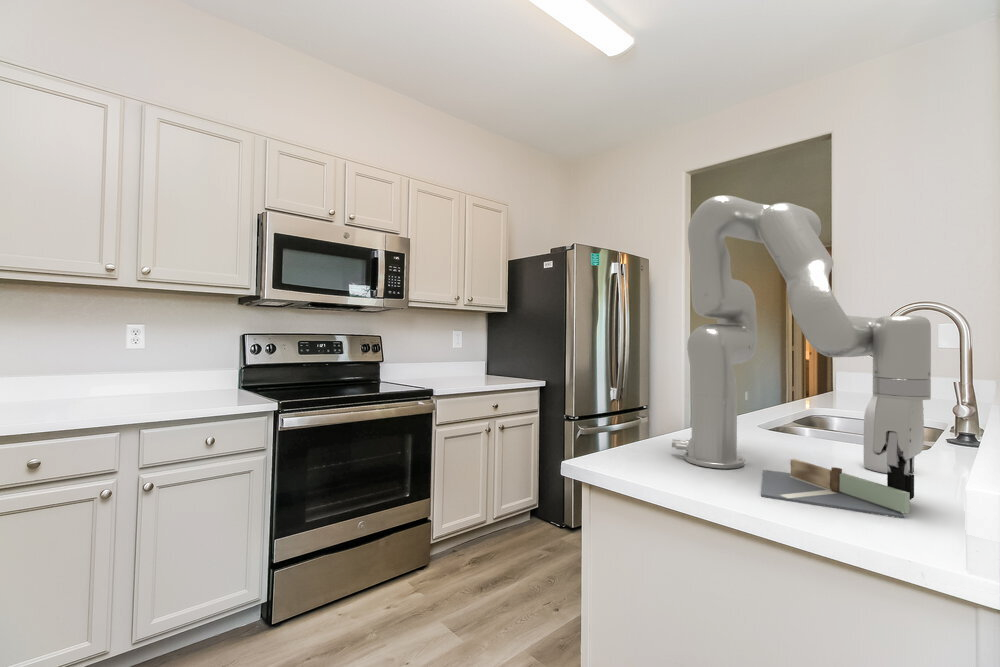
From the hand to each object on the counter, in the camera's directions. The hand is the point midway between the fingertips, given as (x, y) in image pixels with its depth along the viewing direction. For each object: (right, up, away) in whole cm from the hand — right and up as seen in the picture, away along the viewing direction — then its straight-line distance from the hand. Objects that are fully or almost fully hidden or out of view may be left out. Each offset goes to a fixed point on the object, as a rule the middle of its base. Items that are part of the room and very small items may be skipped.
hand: (900, 496), depth 80 cm
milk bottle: (+16, -2, +23) cm, 28 cm away
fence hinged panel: (-4, -1, +1) cm, 4 cm away
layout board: (-7, -2, +8) cm, 11 cm away
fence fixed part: (-7, -2, +11) cm, 13 cm away
